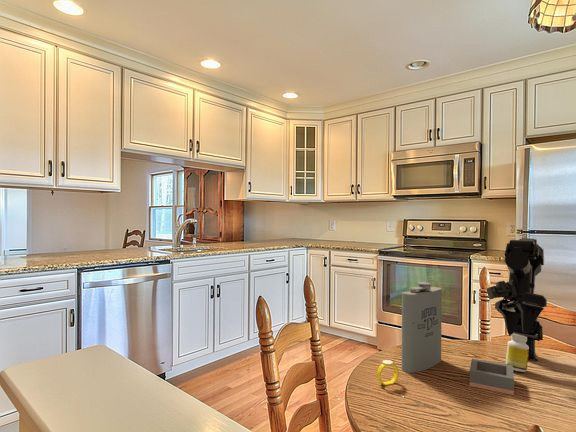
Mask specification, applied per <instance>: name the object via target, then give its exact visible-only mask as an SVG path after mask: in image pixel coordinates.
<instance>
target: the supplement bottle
mask: <svg viewBox="0 0 576 432" xmlns="http://www.w3.org/2000/svg"><path fill="white" fill-rule="evenodd" d="M510 338H511V340H508V341H507V344H506V345H507V346H506V354H505V363H504V364H507V365H513V371H516V372H522V373H527V370H528V361H529V359H528V353H529V346H528V345H527V344H526V342H527V337H526V336H523V335H519V334H512V335H511V336H510Z"/></svg>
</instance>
